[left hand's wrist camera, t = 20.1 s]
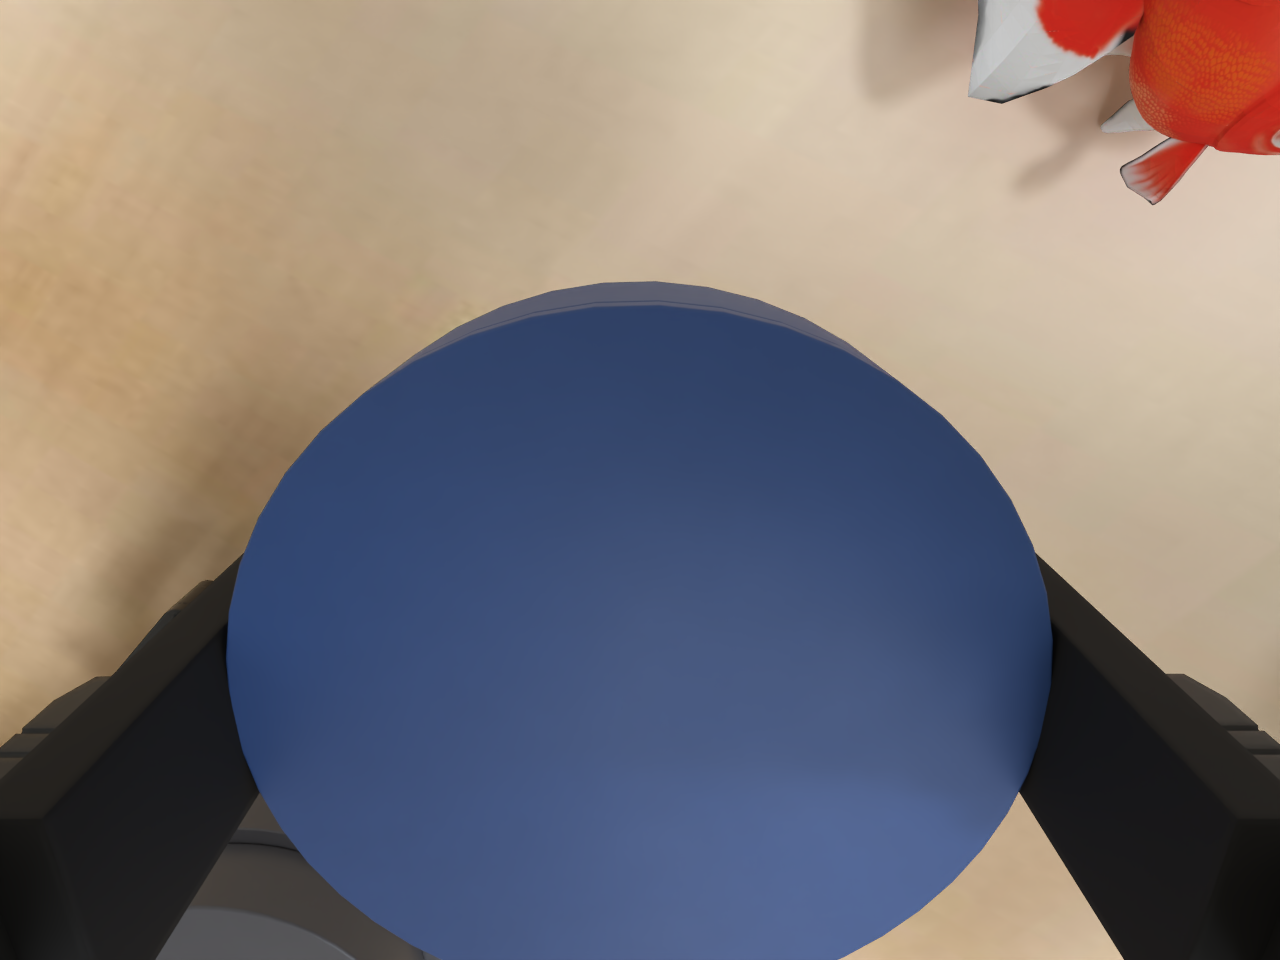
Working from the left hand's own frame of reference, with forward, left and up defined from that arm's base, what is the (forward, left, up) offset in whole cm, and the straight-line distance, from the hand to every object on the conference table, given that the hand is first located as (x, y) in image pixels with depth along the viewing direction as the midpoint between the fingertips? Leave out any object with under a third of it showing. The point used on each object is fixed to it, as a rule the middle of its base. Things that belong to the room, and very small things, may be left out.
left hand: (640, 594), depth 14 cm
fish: (-18, -8, -22) cm, 30 cm away
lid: (0, 0, +3) cm, 3 cm away
